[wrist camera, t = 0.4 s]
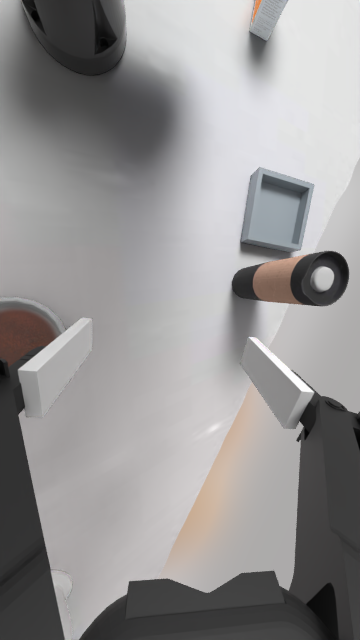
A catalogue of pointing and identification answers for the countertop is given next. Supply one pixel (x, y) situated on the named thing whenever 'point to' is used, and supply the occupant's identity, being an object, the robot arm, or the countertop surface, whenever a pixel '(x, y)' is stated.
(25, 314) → the frying pan
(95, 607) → the countertop surface
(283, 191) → the tray
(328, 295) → the travel mug
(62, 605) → the decorative vase
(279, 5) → the skincare box
